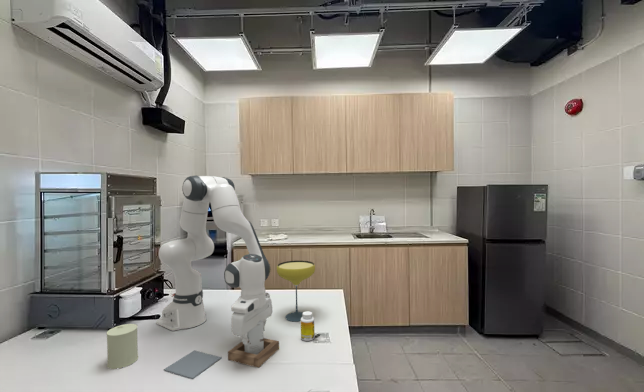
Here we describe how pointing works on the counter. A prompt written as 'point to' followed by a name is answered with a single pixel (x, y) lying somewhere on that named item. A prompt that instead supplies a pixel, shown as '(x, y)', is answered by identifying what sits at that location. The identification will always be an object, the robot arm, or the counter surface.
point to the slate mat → (192, 364)
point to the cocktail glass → (295, 279)
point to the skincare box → (255, 339)
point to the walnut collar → (252, 359)
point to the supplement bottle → (307, 326)
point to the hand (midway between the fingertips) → (254, 337)
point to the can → (122, 346)
